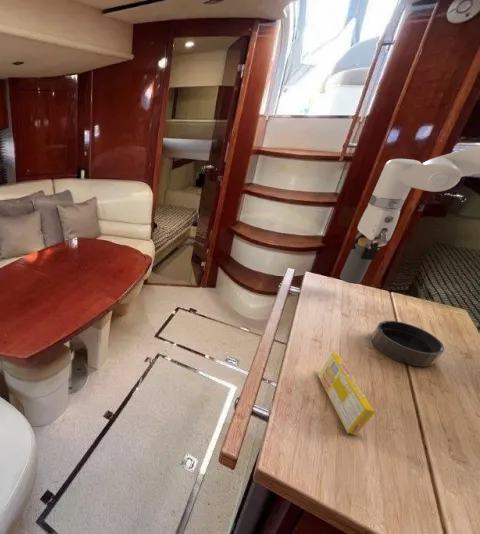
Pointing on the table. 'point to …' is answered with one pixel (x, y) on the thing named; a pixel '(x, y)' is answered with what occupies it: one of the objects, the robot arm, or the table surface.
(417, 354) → the pan
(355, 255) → the bottle
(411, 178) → the robot arm
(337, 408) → the candy box
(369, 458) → the table surface
